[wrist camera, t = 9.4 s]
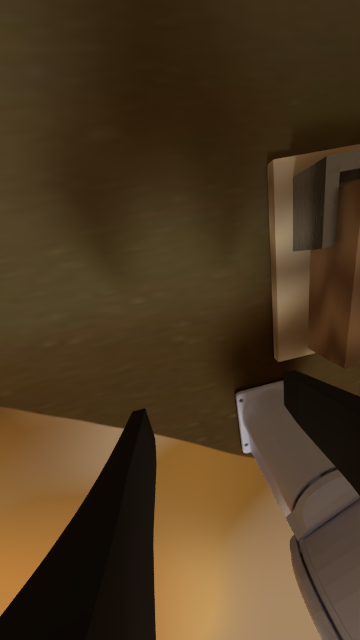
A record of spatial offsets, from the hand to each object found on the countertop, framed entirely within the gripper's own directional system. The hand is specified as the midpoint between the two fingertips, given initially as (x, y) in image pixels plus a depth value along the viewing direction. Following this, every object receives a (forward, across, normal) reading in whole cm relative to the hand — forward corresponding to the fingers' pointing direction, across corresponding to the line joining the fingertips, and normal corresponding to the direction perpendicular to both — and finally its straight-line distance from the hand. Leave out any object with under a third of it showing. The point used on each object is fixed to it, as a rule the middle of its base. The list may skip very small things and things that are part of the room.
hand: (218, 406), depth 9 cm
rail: (+9, -14, -3) cm, 17 cm away
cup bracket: (+9, -14, -9) cm, 19 cm away
